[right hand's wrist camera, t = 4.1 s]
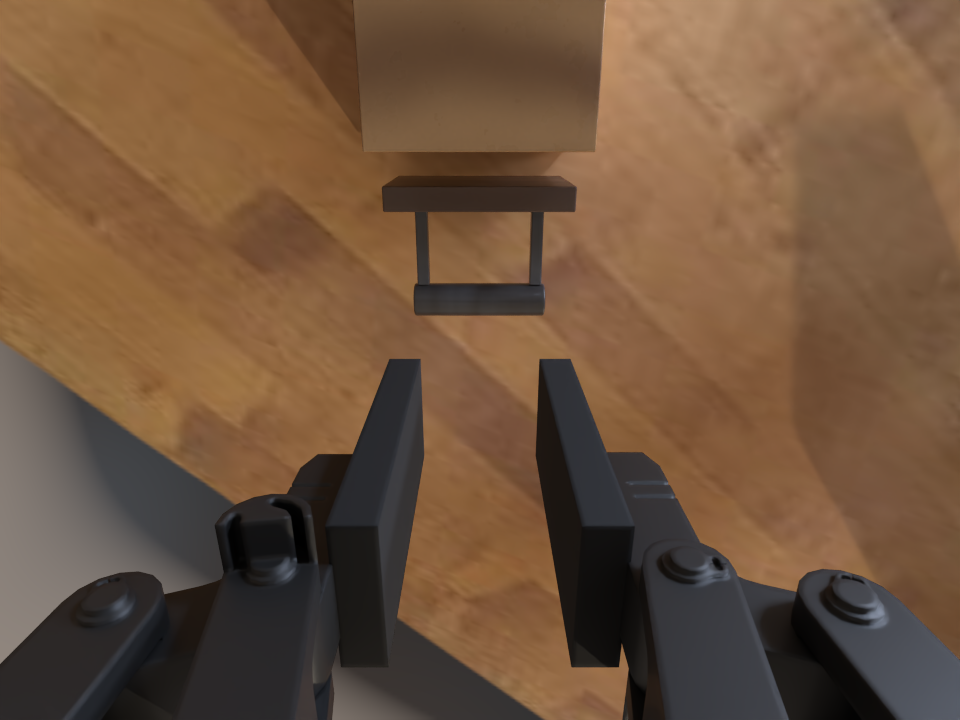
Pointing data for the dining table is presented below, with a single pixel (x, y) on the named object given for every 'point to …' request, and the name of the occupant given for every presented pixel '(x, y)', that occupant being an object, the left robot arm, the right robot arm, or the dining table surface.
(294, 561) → the right robot arm
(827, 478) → the dining table surface
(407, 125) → the cabinet
